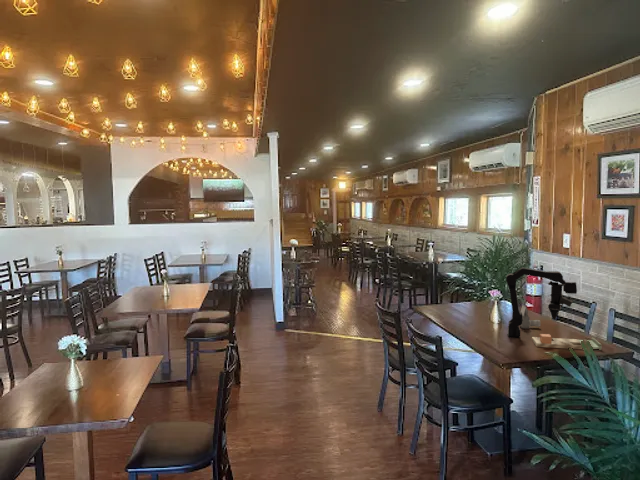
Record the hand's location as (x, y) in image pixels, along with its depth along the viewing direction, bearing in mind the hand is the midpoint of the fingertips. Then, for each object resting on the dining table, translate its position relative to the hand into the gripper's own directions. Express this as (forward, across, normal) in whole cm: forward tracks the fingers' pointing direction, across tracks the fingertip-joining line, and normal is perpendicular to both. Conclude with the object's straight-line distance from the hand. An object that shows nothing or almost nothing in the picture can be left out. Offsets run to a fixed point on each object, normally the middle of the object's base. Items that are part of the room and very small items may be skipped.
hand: (555, 318), depth 257 cm
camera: (+14, +23, +17) cm, 32 cm away
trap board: (+14, -7, -6) cm, 16 cm away
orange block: (+12, -13, +3) cm, 18 cm away
